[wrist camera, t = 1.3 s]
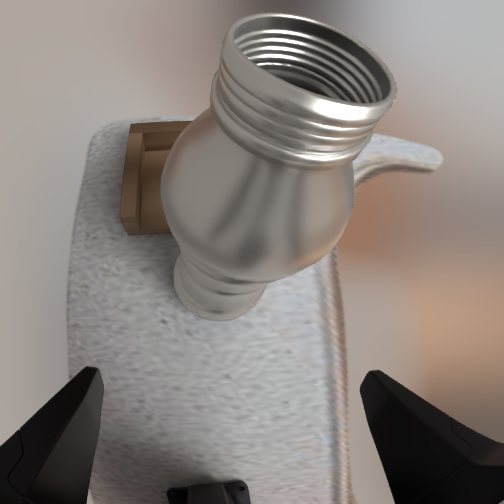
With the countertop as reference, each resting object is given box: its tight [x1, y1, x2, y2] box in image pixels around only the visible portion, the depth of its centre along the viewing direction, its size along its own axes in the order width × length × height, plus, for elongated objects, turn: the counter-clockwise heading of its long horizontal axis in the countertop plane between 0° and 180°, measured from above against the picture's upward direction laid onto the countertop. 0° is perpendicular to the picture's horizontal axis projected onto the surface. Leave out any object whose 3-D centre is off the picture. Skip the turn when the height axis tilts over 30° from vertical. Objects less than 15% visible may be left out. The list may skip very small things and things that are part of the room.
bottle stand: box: [120, 121, 192, 235], centre depth 24 cm, size 9×14×4 cm, turn 97°
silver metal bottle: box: [160, 13, 397, 321], centre depth 14 cm, size 6×7×20 cm
